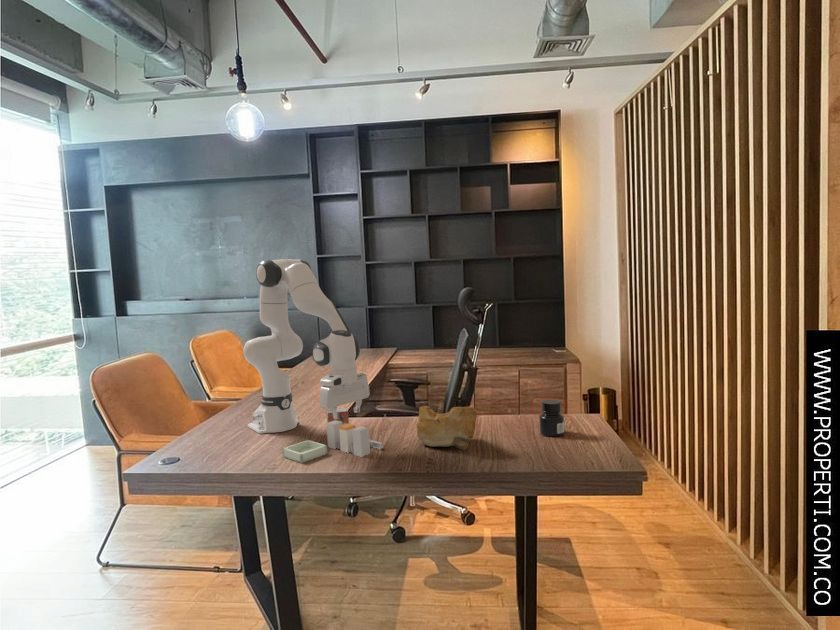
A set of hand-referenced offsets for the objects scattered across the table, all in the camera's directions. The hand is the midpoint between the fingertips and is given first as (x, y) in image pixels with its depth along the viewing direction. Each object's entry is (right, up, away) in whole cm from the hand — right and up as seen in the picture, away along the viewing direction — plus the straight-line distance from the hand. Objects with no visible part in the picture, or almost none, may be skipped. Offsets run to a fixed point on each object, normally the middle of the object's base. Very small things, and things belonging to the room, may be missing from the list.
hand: (346, 415), depth 173 cm
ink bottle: (+75, -9, +9) cm, 76 cm away
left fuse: (-5, -13, +6) cm, 15 cm away
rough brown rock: (+38, -11, +3) cm, 39 cm away
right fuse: (+6, -13, -4) cm, 14 cm away
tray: (-14, -13, -2) cm, 20 cm away
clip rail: (+3, -12, +4) cm, 13 cm away
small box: (-6, -12, +17) cm, 22 cm away
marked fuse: (0, -13, +1) cm, 13 cm away
